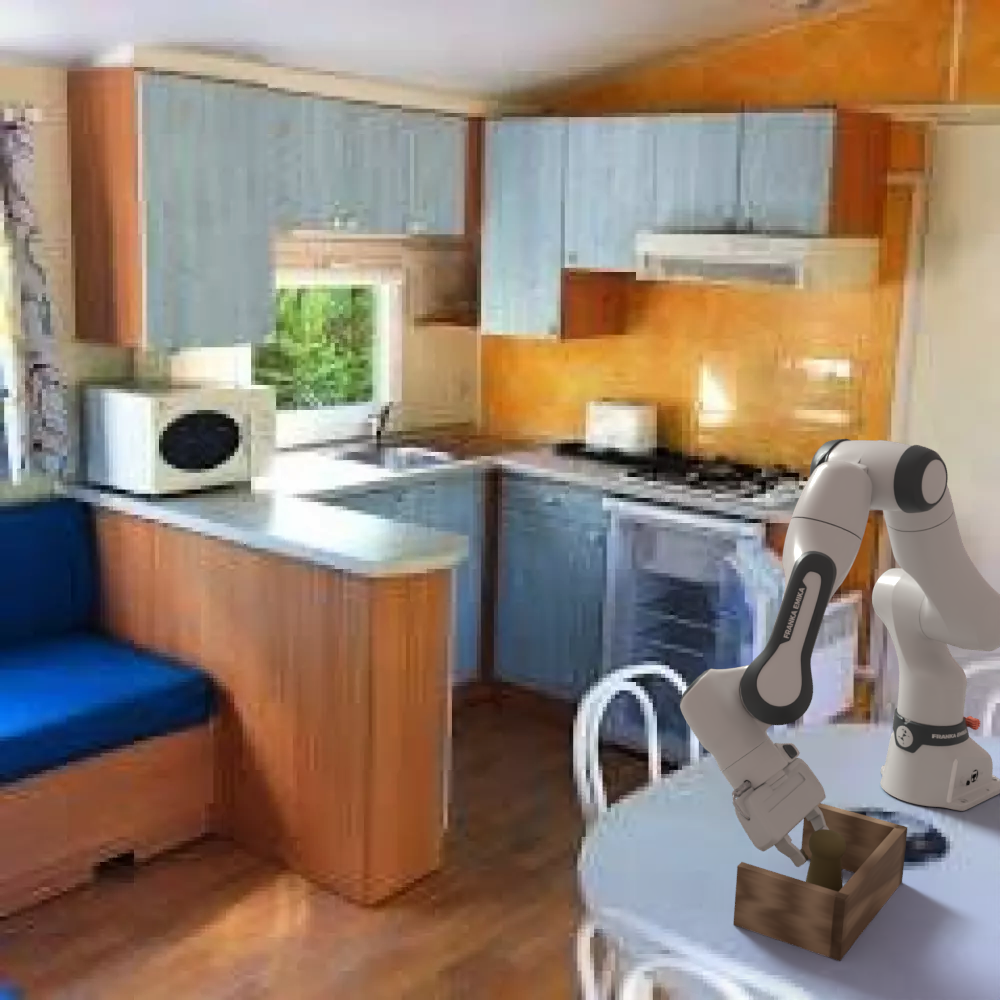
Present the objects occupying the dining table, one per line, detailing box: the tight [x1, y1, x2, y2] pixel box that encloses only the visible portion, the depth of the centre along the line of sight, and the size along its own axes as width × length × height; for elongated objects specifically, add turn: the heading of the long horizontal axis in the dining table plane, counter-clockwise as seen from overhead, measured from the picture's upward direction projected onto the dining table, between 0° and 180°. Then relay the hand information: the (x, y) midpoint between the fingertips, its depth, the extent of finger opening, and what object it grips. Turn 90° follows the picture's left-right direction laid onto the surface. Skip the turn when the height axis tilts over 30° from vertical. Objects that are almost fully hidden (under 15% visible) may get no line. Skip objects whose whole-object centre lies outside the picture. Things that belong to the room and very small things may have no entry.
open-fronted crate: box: [733, 802, 908, 962], centre depth 187 cm, size 16×27×9 cm, turn 146°
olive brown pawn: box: [805, 829, 846, 892], centre depth 187 cm, size 6×6×11 cm
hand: (815, 851), depth 187 cm, fingers open, 8 cm apart
